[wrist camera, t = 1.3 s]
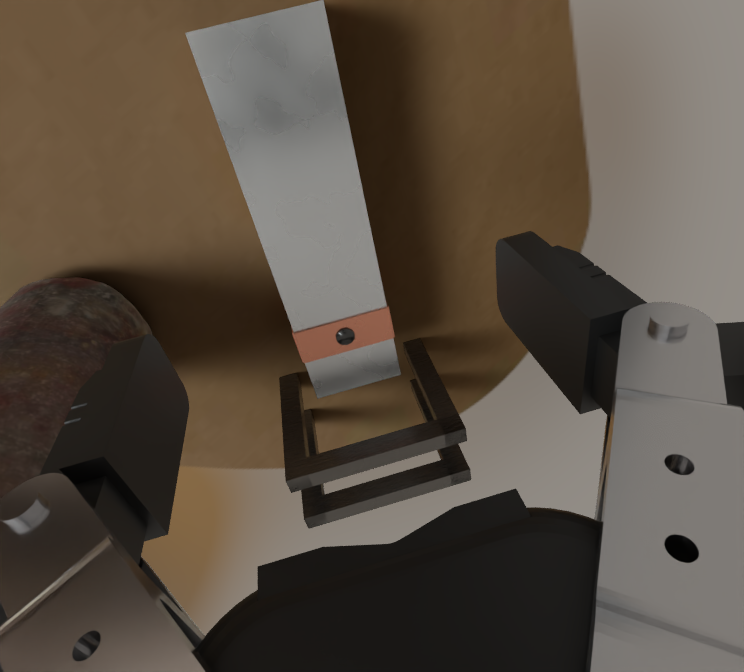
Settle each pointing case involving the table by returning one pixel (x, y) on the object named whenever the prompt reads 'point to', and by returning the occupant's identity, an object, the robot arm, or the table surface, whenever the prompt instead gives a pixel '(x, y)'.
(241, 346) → the table surface
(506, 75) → the table surface
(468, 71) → the table surface
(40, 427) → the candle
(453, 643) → the robot arm
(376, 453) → the collar
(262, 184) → the brushed metal post
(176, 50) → the table surface
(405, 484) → the collar
